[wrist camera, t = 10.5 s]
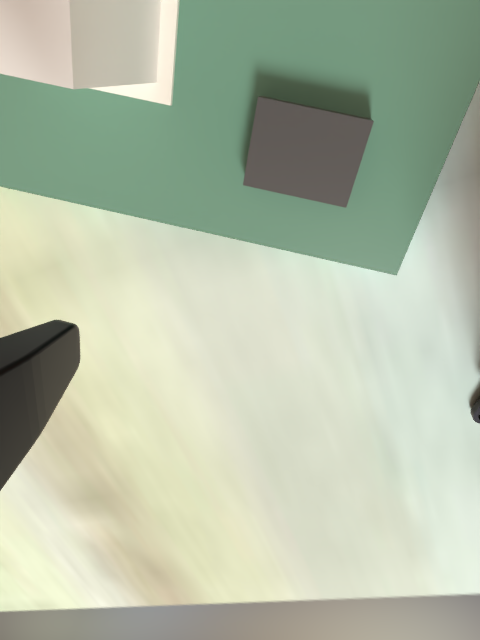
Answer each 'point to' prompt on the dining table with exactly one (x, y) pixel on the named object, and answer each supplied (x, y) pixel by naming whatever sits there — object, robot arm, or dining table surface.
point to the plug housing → (80, 41)
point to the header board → (264, 124)
